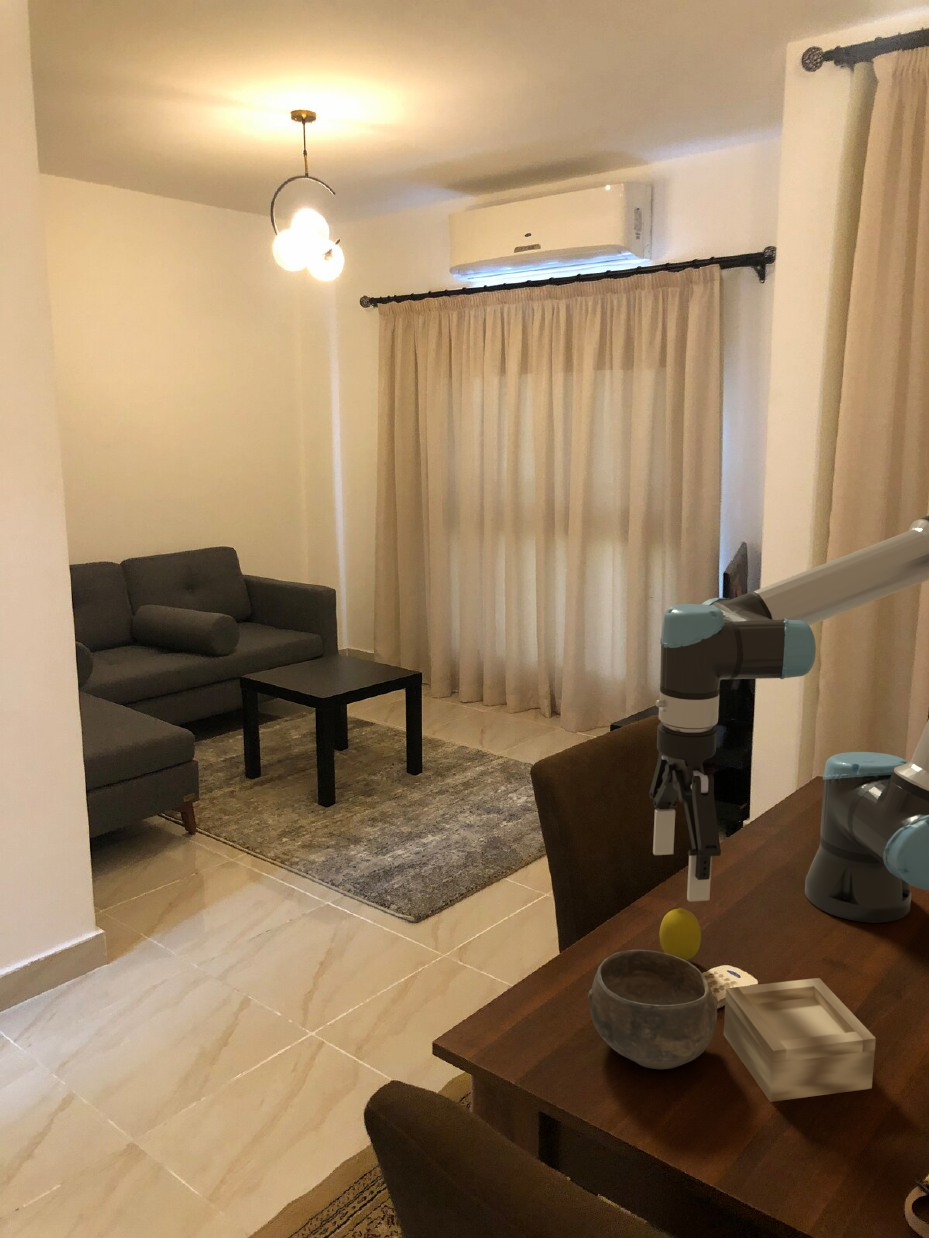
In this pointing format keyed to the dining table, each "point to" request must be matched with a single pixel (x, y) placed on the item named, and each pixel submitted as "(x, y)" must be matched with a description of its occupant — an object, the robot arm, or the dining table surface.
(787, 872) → the dining table surface
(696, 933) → the lemon
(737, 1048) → the birch box
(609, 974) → the bowl
